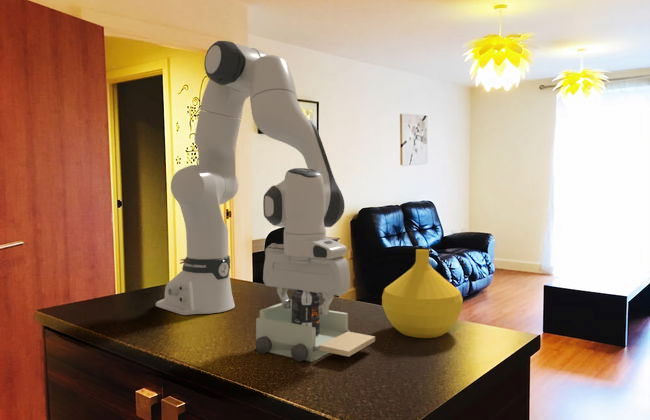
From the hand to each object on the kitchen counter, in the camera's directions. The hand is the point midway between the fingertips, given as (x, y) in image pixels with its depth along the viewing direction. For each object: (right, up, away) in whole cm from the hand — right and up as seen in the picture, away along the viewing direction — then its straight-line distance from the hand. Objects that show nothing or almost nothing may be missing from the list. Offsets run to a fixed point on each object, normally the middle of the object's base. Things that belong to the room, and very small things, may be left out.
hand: (304, 311), depth 111 cm
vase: (+27, -7, +11) cm, 30 cm away
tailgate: (+6, -5, -3) cm, 9 cm away
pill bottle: (0, -5, +1) cm, 5 cm away
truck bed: (0, -8, +1) cm, 8 cm away
